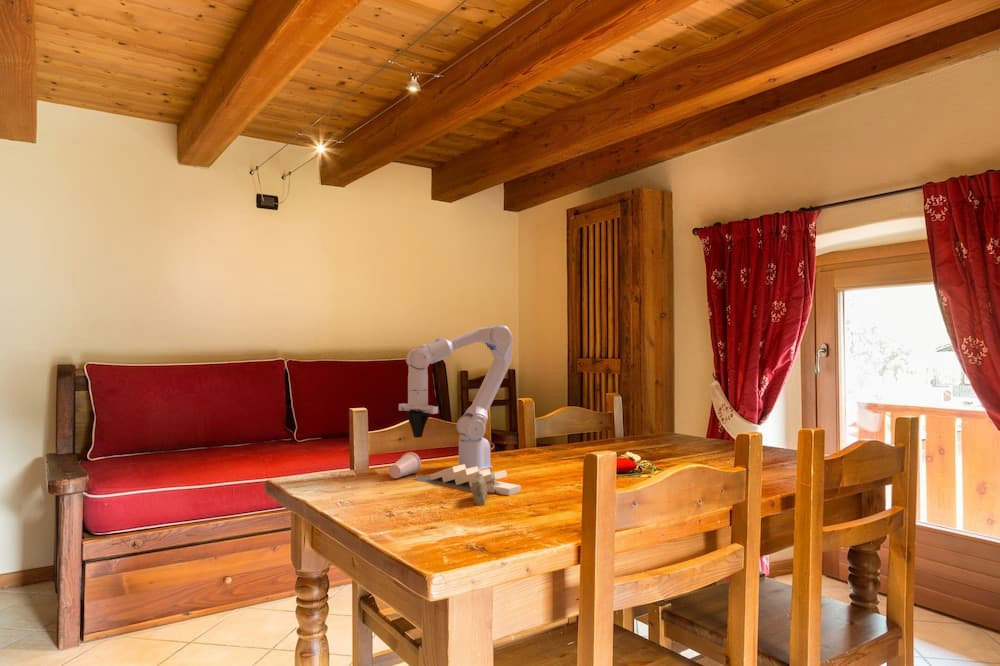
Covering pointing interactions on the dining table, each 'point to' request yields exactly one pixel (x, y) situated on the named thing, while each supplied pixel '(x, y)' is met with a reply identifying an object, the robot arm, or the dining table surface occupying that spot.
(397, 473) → the smoothie
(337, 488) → the dining table surface
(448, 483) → the runner mat
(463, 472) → the domino
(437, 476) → the domino
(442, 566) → the dining table surface
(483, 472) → the domino
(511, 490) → the domino
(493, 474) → the domino
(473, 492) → the cuneiform tablet
